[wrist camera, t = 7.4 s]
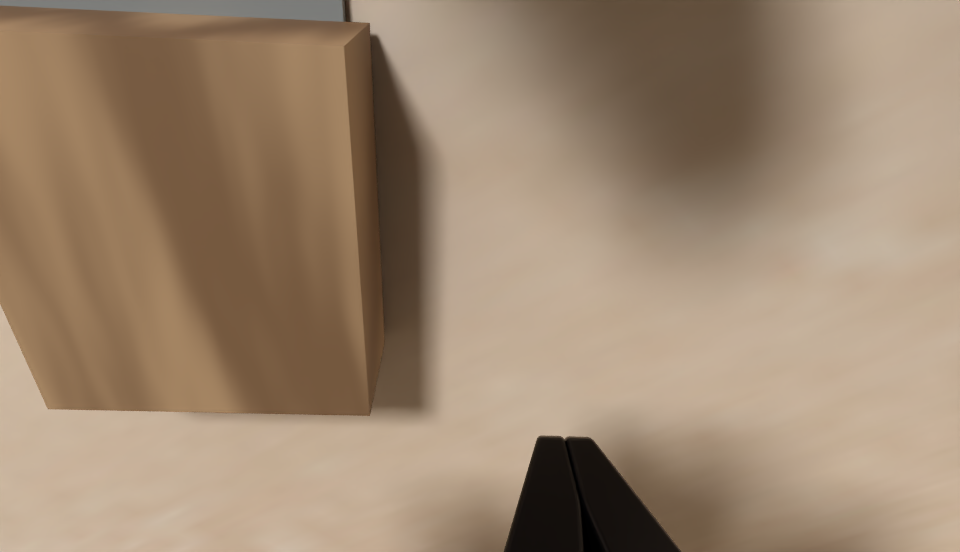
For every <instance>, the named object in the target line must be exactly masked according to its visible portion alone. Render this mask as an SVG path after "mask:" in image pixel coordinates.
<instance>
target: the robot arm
mask: <svg viewBox="0 0 960 552" xmlns="http://www.w3.org/2000/svg"><path fill="white" fill-rule="evenodd" d="M504 552H681V550H680V549H679V548H678V547H677V545H676V544H675V543H674V542H673V540H672V539H671V538H670V537H669V535H668V534H667V533H666V531H665V530H664V529H663V528H662V526H661V525H660V524H659V523H658V521H657V520H656V519H655V518H654V516H653V515H652V514H651V512H650V511H649V510H648V509H647V507H646V506H645V505H644V504H643V502H642V501H641V500H640V499H639V497H638V496H637V495H636V493H635V492H634V491H633V490H632V488H631V487H630V486H629V485H628V483H627V482H626V481H625V480H624V478H623V477H622V476H621V474H620V473H619V472H618V471H617V469H616V468H615V467H614V466H613V464H612V463H611V462H610V461H609V459H608V458H607V457H606V455H605V454H604V453H603V452H602V450H601V449H600V448H599V447H598V445H597V444H596V443H595V442H594V440H592V439H591V438H589V437H571V436H569V437H566V438H565V439H563V437H561V436H539V437H538V438H537V441H536V444H535V447H534V451H533V454H532V457H531V461H530V464H529V467H528V471H527V474H526V478H525V481H524V484H523V488H522V491H521V495H520V498H519V501H518V505H517V508H516V512H515V515H514V518H513V522H512V525H511V529H510V532H509V535H508V539H507V542H506V546H505V549H504Z"/></svg>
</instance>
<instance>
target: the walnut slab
mask: <svg viewBox="0 0 960 552" xmlns="http://www.w3.org/2000/svg"><path fill="white" fill-rule="evenodd" d="M0 304H1V306H2V309H3V311H4V313H5V315H6V318H7V320H8V322H9V324H10V326H11V329H12V331H13V333H14V335H15V337H16V340H17V342H18V344H19V346H20V348H21V351H22V353H23V355H24V357H25V359H26V362H27V364H28V366H29V368H30V371H31V373H32V375H33V377H34V379H35V382H36V384H37V386H38V388H39V390H40V393H41V395H42V397H43V399H44V401H45V404H46V406H47V408H48V409H69V410H117V411H166V412H215V413H264V414H313V415H362V416H370V412H371V407H372V402H373V397H374V392H375V387H376V382H377V377H378V372H379V368H380V363H381V358H382V353H383V348H384V343H385V336H384V315H383V294H382V273H381V252H380V231H379V210H378V189H377V168H376V147H375V126H374V105H373V84H372V63H371V42H370V23H359V22H338V21H317V20H295V19H274V18H253V17H232V16H211V15H190V14H168V13H147V12H126V11H105V10H84V9H63V8H41V7H20V6H0Z"/></svg>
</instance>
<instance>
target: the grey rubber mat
mask: <svg viewBox="0 0 960 552" xmlns="http://www.w3.org/2000/svg"><path fill="white" fill-rule="evenodd" d="M0 6H20V7H41V8H63V9H84V10H105V11H126V12H147V13H168V14H190V15H211V16H232V17H253V18H274V19H295V20H317V21H338V22H346V18H345V3H344V0H0Z"/></svg>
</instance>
